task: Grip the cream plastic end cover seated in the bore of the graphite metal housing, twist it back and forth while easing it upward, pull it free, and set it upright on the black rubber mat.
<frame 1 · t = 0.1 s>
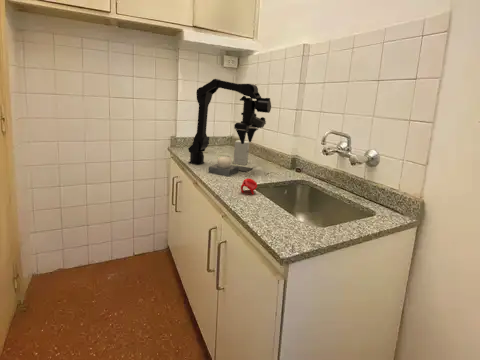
hand: (246, 142, 156), 15 cm above the worktop, tool pointing down, fingers open, 9 cm apart
rubber mat: (241, 169, 163), on the worktop
supplement box: (240, 163, 178), on the worktop
red plastic curved piece: (248, 193, 125), on the worktop
end cover: (224, 164, 153), in the housing
housing: (223, 172, 154), on the worktop
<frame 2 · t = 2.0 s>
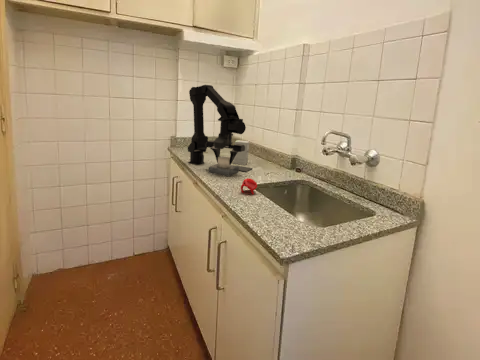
hand: (224, 163, 152), 5 cm above the worktop, tool pointing down, fingers closed on end cover, 6 cm apart
end cover: (224, 164, 153), in the housing, touching gripper
everything else where it was.
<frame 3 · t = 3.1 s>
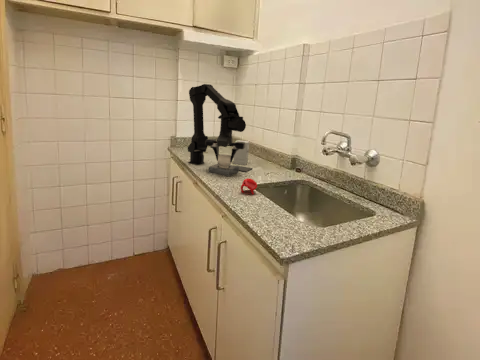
hand: (224, 161, 152), 6 cm above the worktop, tool pointing down, fingers closed on end cover, 6 cm apart
end cover: (224, 162, 152), point 5 cm above the worktop, touching gripper
everything else where it was.
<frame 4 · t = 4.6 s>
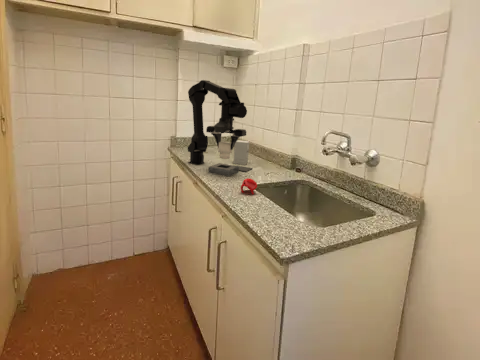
hand: (225, 148, 151), 12 cm above the worktop, tool pointing down, fingers closed on end cover, 6 cm apart
end cover: (225, 150, 151), point 11 cm above the worktop, touching gripper
everything else where it was.
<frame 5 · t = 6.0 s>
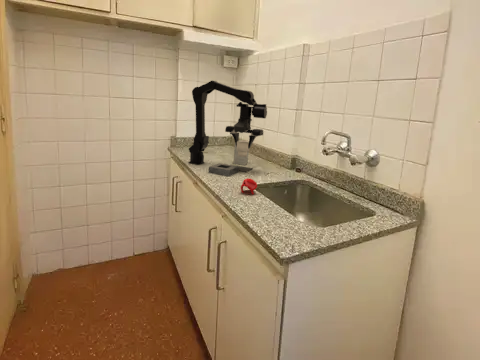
hand: (242, 147, 160), 11 cm above the worktop, tool pointing down, fingers closed on end cover, 6 cm apart
end cover: (242, 148, 160), point 11 cm above the worktop, touching gripper
everything else where it was.
when the fingers open (6 cm above the worktop, at t = 7.3 s): end cover drops 1 cm, resting on rubber mat.
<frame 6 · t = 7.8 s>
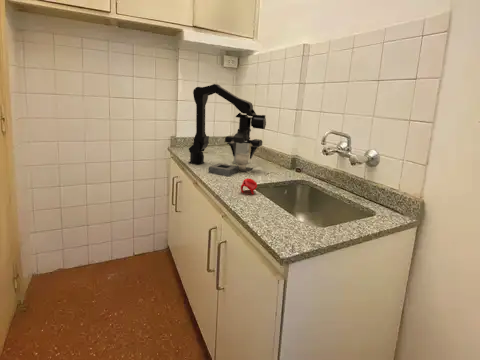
hand: (242, 157, 161), 6 cm above the worktop, tool pointing down, fingers open, 9 cm apart
end cover: (242, 161, 162), on the rubber mat, point 4 cm above the worktop
everything else where it was.
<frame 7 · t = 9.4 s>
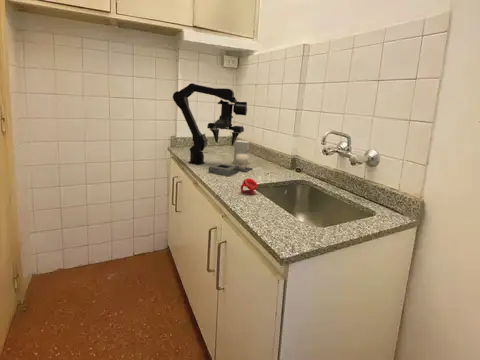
hand: (224, 143, 165), 12 cm above the worktop, tool pointing down, fingers open, 9 cm apart
nothing on the worktop moved.
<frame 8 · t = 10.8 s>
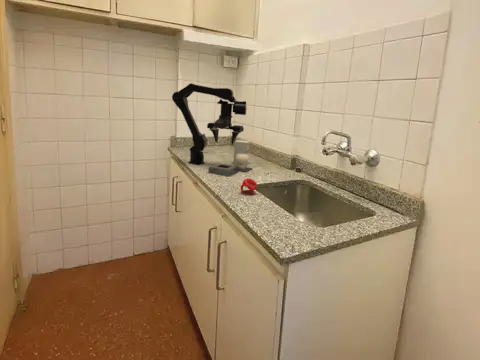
hand: (224, 143, 165), 12 cm above the worktop, tool pointing down, fingers open, 9 cm apart
nothing on the worktop moved.
at the end: end cover inside the target area on the rubber mat (0.0 cm from its centre), point 4.3 cm above the rubber mat's base; end cover tilted 0°; the gripper is holding nothing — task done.
